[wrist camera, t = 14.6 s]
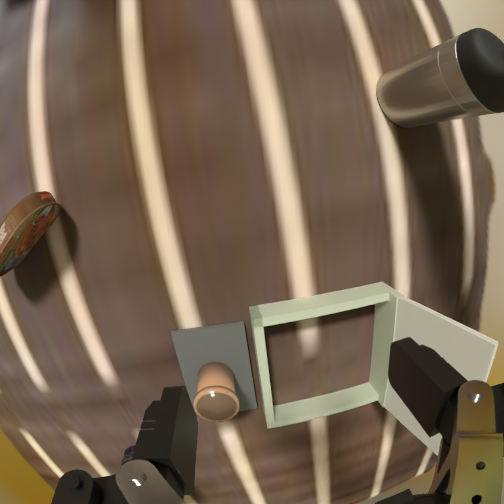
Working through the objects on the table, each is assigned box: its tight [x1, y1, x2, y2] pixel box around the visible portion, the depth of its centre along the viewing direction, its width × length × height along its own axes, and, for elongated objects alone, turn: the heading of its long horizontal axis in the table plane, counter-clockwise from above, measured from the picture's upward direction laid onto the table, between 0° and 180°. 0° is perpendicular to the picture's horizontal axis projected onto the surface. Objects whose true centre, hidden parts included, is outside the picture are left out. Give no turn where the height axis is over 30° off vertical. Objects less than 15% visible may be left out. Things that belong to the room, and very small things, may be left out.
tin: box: [0, 191, 60, 276], centre depth 30 cm, size 15×3×8 cm, turn 128°
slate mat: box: [171, 321, 257, 416], centre depth 41 cm, size 10×16×1 cm, turn 7°
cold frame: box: [249, 282, 499, 456], centre depth 32 cm, size 23×20×22 cm
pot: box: [194, 362, 239, 422], centre depth 37 cm, size 6×6×7 cm
